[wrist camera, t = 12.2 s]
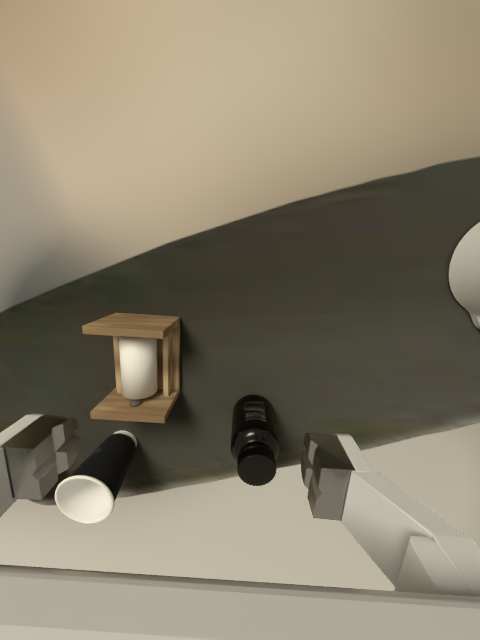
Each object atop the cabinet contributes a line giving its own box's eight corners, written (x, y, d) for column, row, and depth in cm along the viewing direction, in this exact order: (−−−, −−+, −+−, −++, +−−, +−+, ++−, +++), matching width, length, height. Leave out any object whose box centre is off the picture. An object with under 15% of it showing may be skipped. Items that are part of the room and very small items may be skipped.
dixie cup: (101, 419, 42) (53, 473, 31) (147, 426, 42) (114, 481, 32) (100, 457, 44) (54, 520, 33) (144, 463, 44) (112, 528, 33)
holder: (115, 312, 38) (82, 326, 30) (180, 316, 38) (163, 330, 30) (120, 388, 41) (90, 418, 33) (179, 392, 41) (164, 423, 33)
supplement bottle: (225, 415, 41) (217, 475, 30) (247, 385, 40) (249, 436, 28) (258, 435, 42) (263, 501, 31) (281, 406, 41) (296, 464, 29)
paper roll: (131, 326, 37) (110, 336, 33) (162, 329, 37) (145, 339, 32) (133, 381, 39) (114, 397, 35) (163, 385, 39) (147, 402, 34)
